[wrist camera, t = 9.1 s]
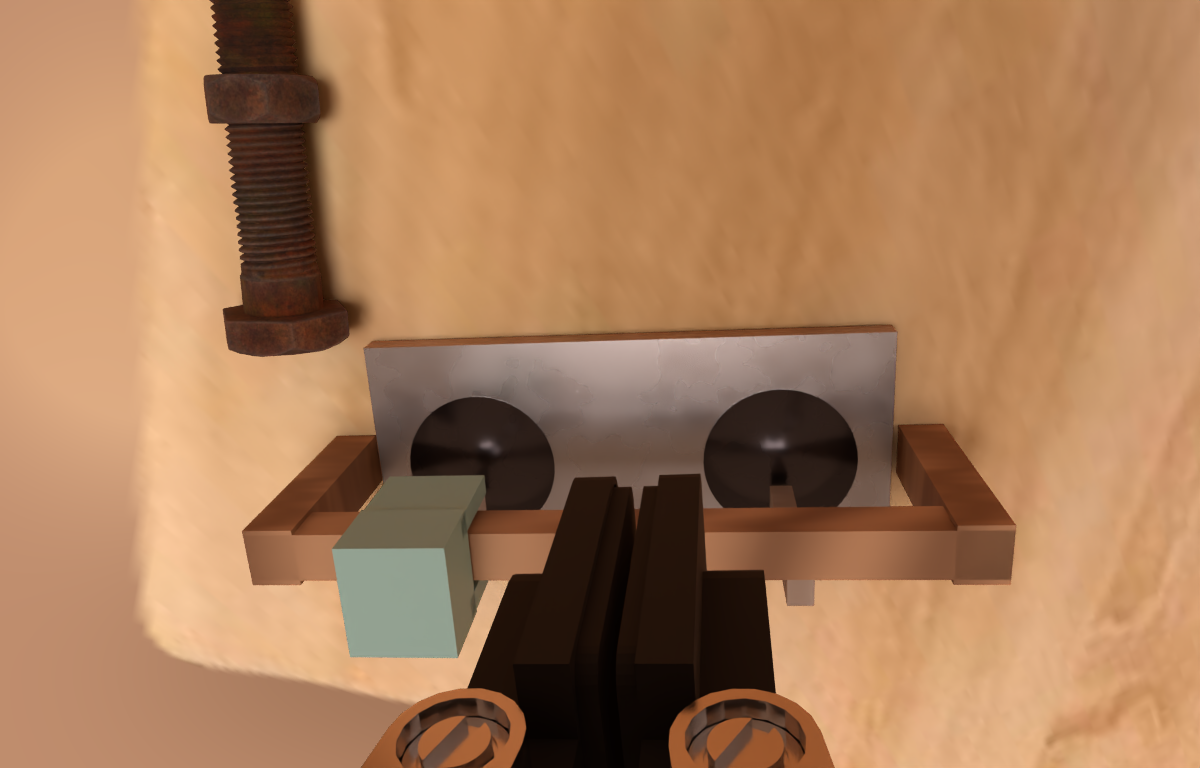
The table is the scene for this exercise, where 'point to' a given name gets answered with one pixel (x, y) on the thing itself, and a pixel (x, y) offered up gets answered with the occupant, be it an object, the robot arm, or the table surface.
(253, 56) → the bolt
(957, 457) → the beam
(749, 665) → the robot arm
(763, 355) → the hole plate
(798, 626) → the table surface
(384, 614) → the slider block
